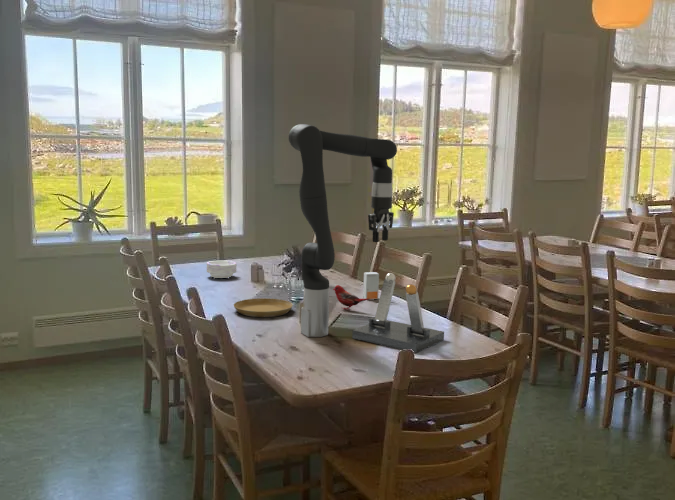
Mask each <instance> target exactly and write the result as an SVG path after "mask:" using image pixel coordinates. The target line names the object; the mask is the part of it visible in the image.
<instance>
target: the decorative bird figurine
mask: <svg viewBox="0 0 675 500" xmlns="http://www.w3.org/2000/svg"><path fill="white" fill-rule="evenodd" d="M332 290H333V291H334V293H335V296H336V299H337V300H338V303H340V304H341V305H343V306H344V307H342V309H343V310H347V311H350V310H351V308H352V307H353V306H357V305H358V304H360V303H361V302H364V301H368V300H369V299H364V298H359V297H358V296H356V295H355V294H353V293H350V292H348V291H347V290H345V288H344V287H342V286H341V285H339V284H338V285H337V284H336V286H335V287H334V288H333V289H332ZM369 301H370V300H369Z"/></svg>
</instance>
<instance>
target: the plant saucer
mask: <svg viewBox="0 0 675 500" xmlns="http://www.w3.org/2000/svg"><path fill="white" fill-rule="evenodd" d="M233 308H234V309H235V311H237V313H239V314H241V315H243V316H246V317H253V318H274V317H280V316H283V315H286V314H287V313H288V312H289V311H291V309H292V308H293V303H292V302H291V301H288V300H285V299H279V298H269V297H267V298H263V297H262V298H259V297H257V298H248V299H243V300H238V301H237V302H234V304H233Z"/></svg>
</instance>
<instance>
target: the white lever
mask: <svg viewBox="0 0 675 500" xmlns="http://www.w3.org/2000/svg"><path fill="white" fill-rule="evenodd" d="M395 286H396V275H395V274H394V273H392V272H389V273H387V274H386V275H385V279H383V282H382V286H381V292H380V295H379V298H378V304H377V308H376V312H375V317H373V318H374V319H373V321H372V324H373V325H376V326H381V327H384V325H385V322H386V320H388V317H389V316H388V315H389V311H390V307H391V304H392V298H393V294H394V291H395Z"/></svg>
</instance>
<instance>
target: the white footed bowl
mask: <svg viewBox="0 0 675 500" xmlns="http://www.w3.org/2000/svg"><path fill="white" fill-rule="evenodd" d="M206 273H209V275H210V277H211V278H212V277H214V278H213V279H215V278H228V277H231V276H232V277H233V275H234V274H235V273H237V262H235V261H233V260H232V261H231V260H209V261H207V262H206ZM232 277H231V278H232ZM228 279H229V278H228Z"/></svg>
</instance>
